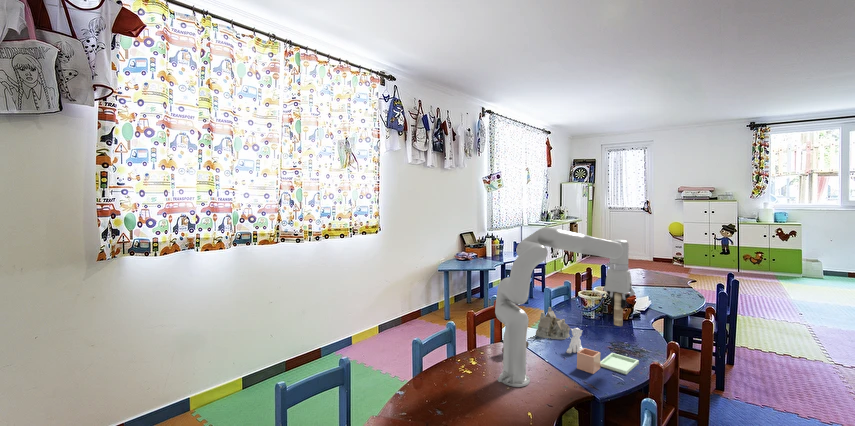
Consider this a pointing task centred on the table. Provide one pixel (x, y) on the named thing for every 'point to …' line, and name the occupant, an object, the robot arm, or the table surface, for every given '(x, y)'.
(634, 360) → the tray
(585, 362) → the pink open box
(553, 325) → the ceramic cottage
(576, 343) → the sitting furry creature
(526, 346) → the figurine character
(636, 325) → the table surface
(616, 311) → the dowel
